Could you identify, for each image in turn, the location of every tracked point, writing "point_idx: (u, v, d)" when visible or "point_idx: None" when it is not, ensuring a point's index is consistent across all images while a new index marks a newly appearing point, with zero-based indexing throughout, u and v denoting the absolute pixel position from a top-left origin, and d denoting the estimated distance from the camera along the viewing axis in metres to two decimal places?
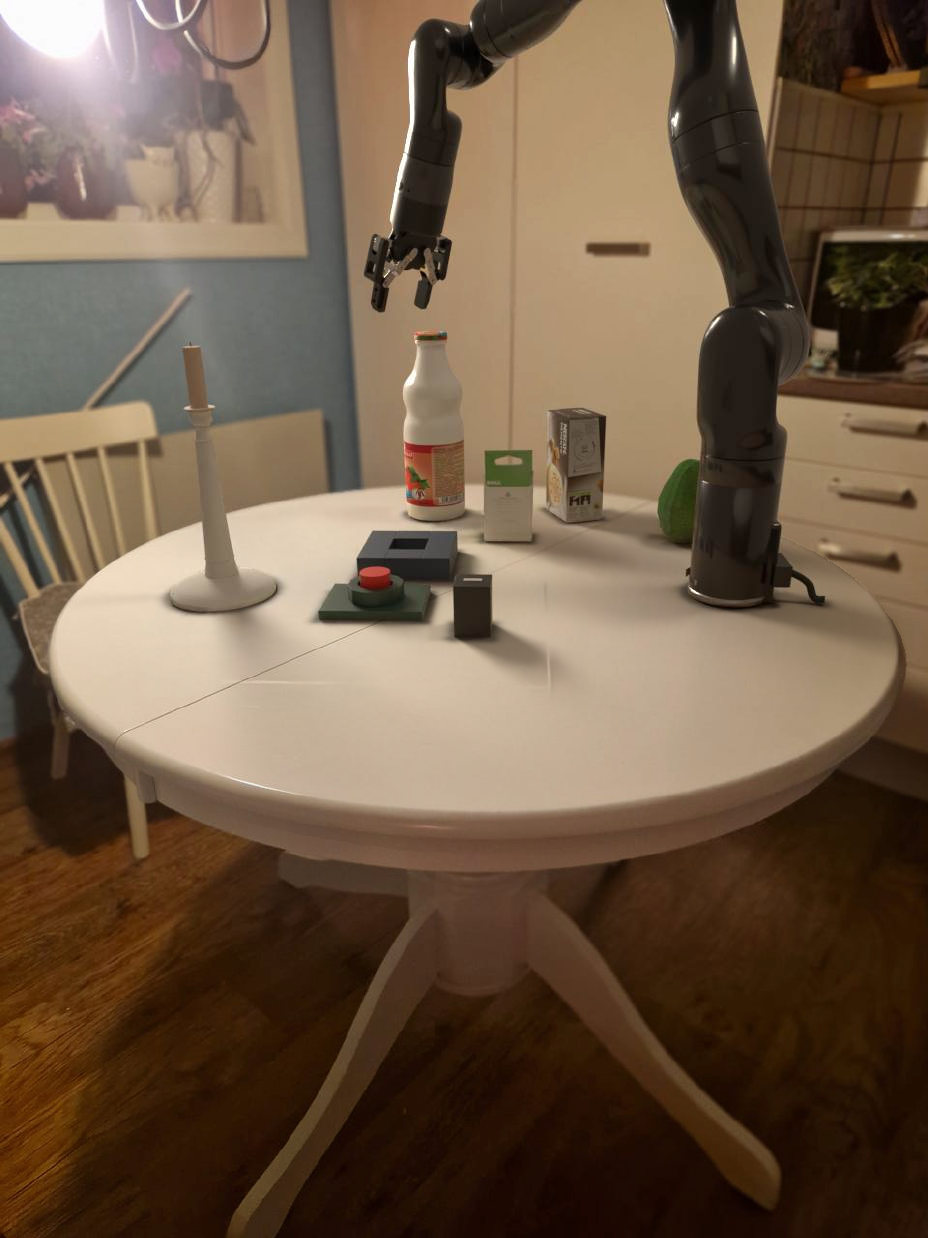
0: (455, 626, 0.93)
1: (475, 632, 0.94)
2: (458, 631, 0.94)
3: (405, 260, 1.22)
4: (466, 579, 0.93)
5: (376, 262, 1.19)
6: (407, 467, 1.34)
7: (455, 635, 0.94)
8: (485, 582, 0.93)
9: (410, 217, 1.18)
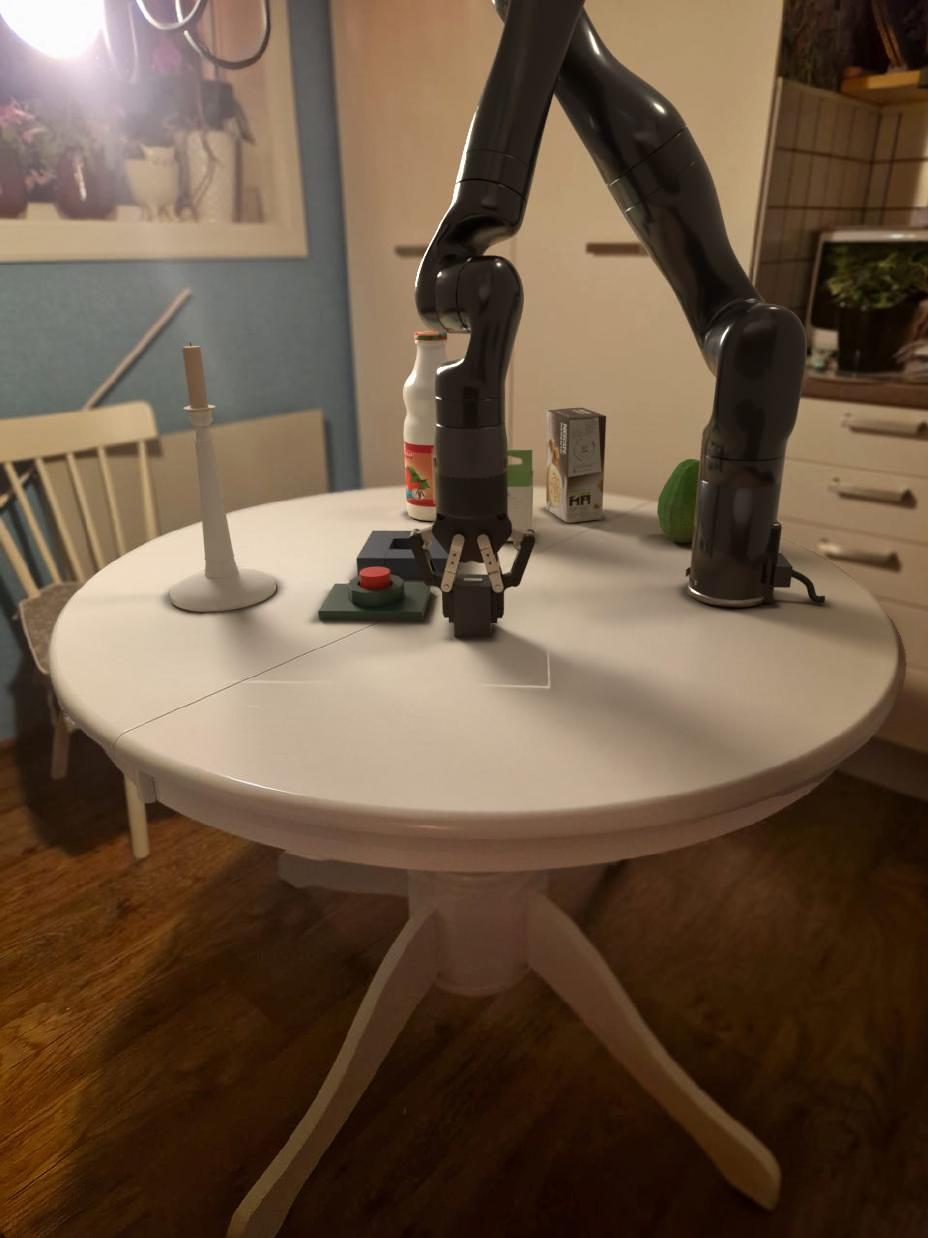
0: (455, 626, 0.93)
1: (475, 632, 0.94)
2: (458, 631, 0.94)
3: None
4: (466, 579, 0.93)
5: None
6: (407, 467, 1.34)
7: (455, 635, 0.94)
8: (486, 582, 0.93)
9: None
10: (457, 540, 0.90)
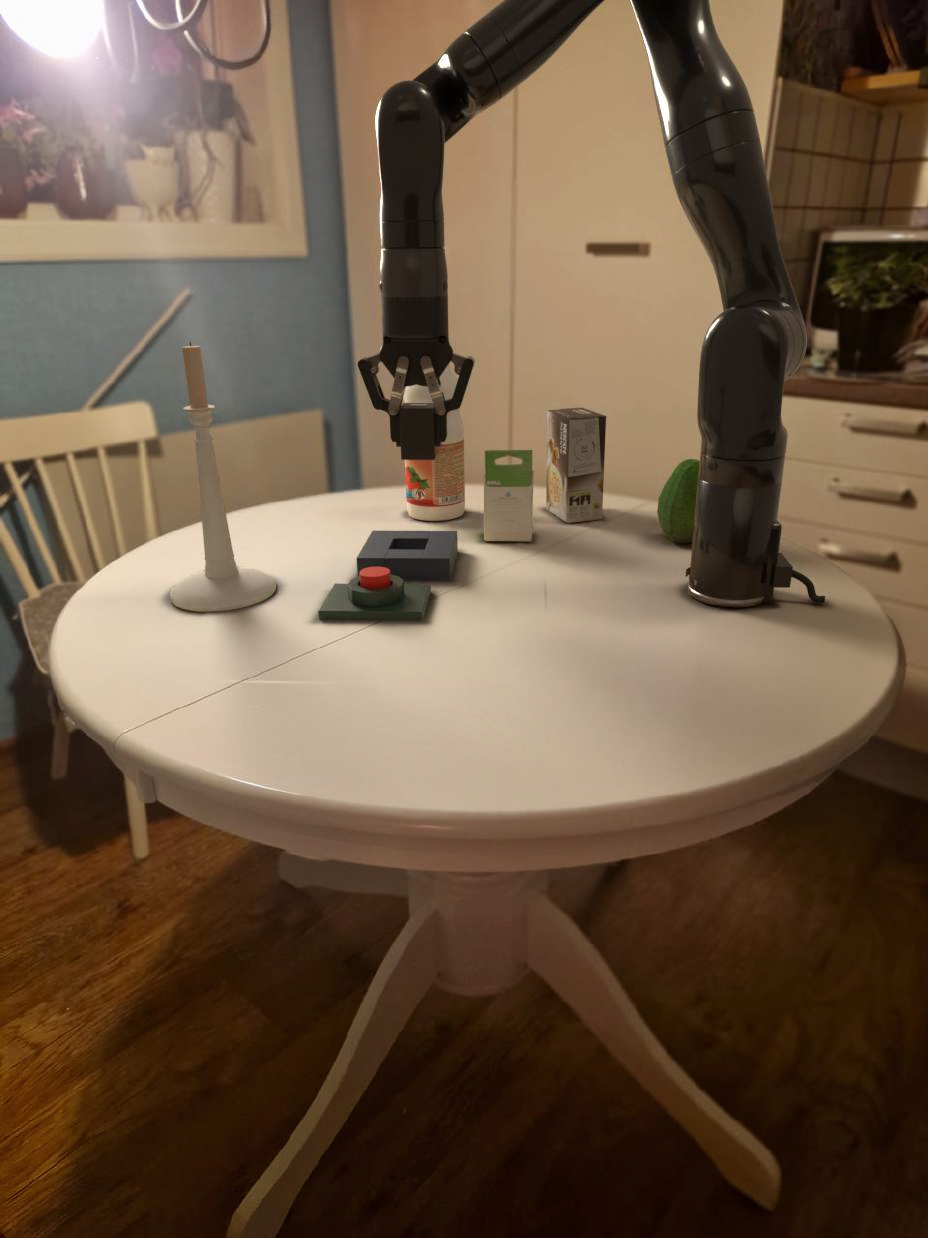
0: (402, 448, 1.02)
1: (420, 453, 1.02)
2: (404, 453, 1.02)
3: None
4: (412, 404, 1.02)
5: None
6: (407, 467, 1.34)
7: (402, 457, 1.02)
8: (429, 406, 1.01)
9: None
10: (402, 362, 0.98)
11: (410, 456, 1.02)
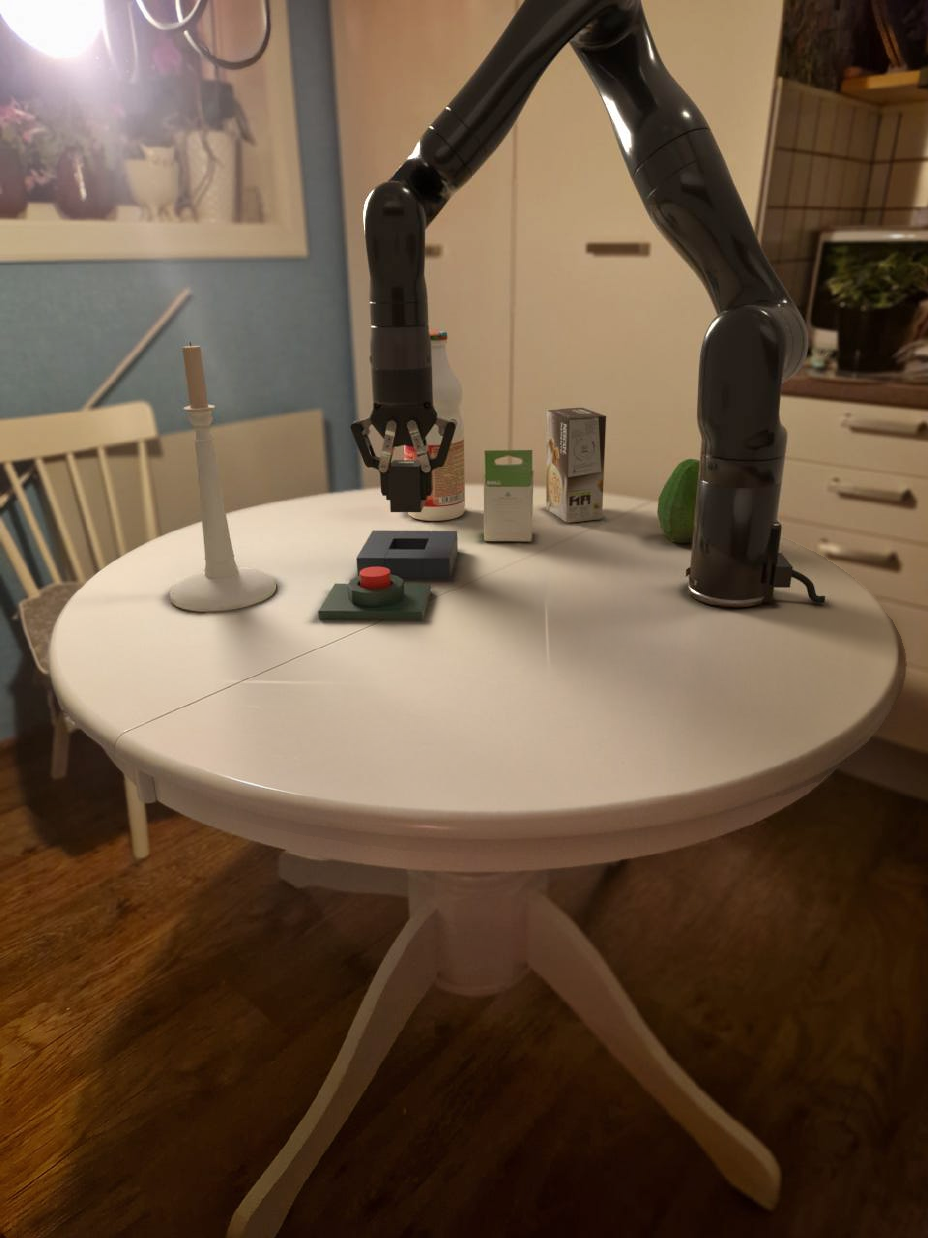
0: (391, 501, 1.11)
1: (408, 506, 1.12)
2: (393, 506, 1.12)
3: None
4: (400, 462, 1.11)
5: (450, 445, 1.11)
6: None
7: (391, 509, 1.12)
8: (416, 464, 1.11)
9: None
10: (390, 425, 1.08)
11: (398, 509, 1.12)
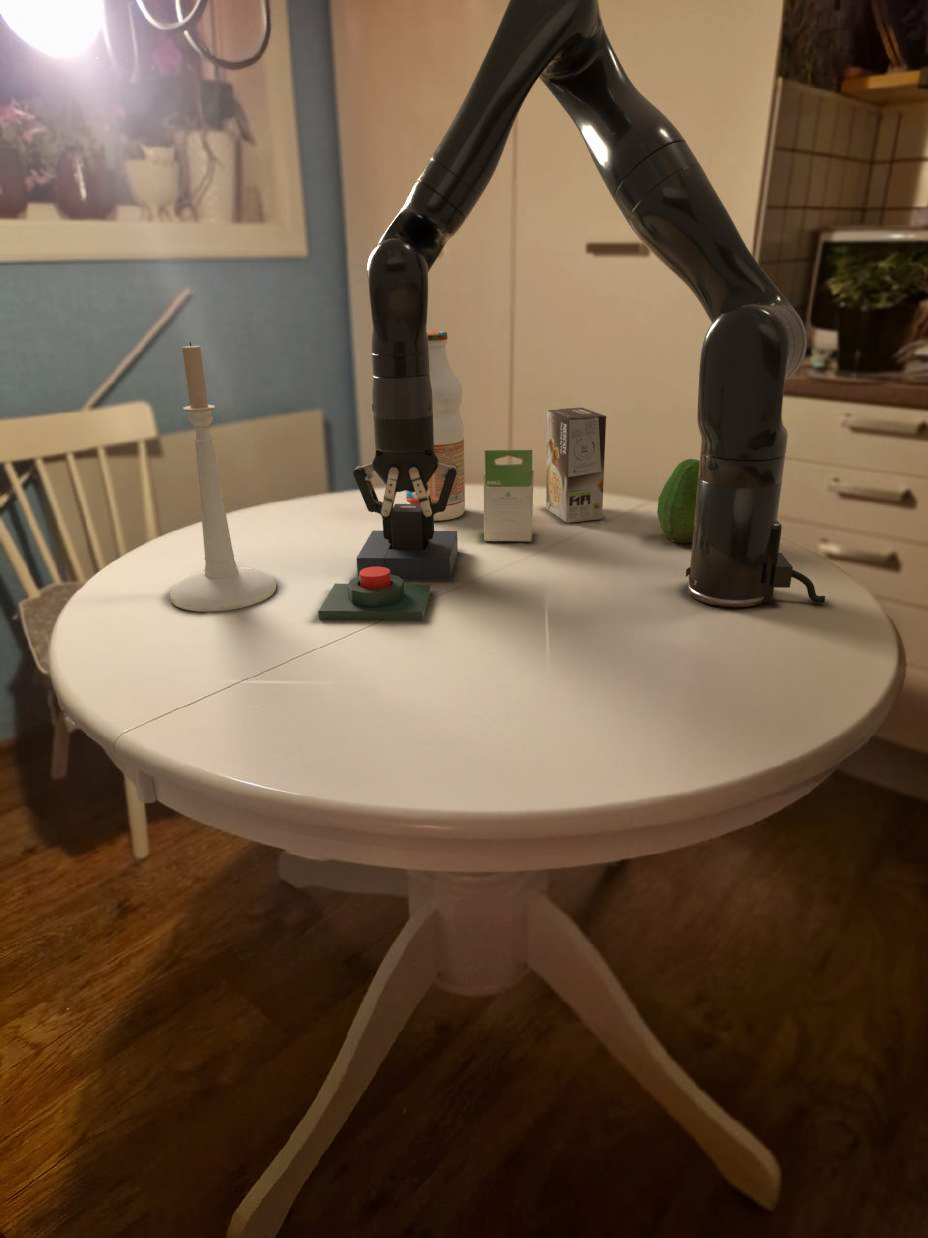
0: (393, 545, 1.14)
1: None
2: None
3: None
4: (402, 506, 1.13)
5: None
6: None
7: None
8: (418, 508, 1.13)
9: None
10: (392, 472, 1.10)
11: None
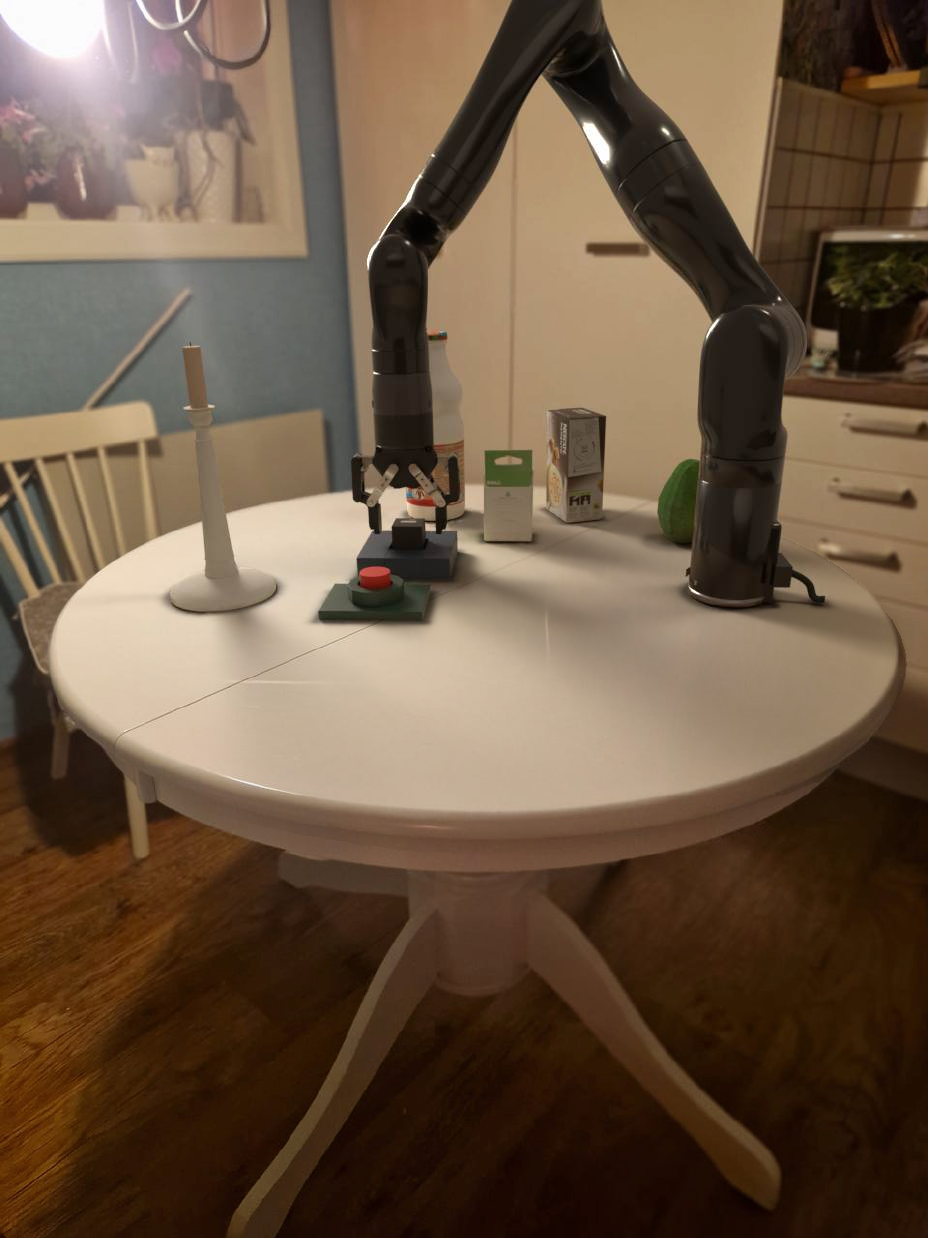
0: None
1: None
2: None
3: None
4: (403, 521, 1.14)
5: (459, 477, 1.12)
6: None
7: None
8: (418, 523, 1.14)
9: None
10: (392, 468, 1.10)
11: None
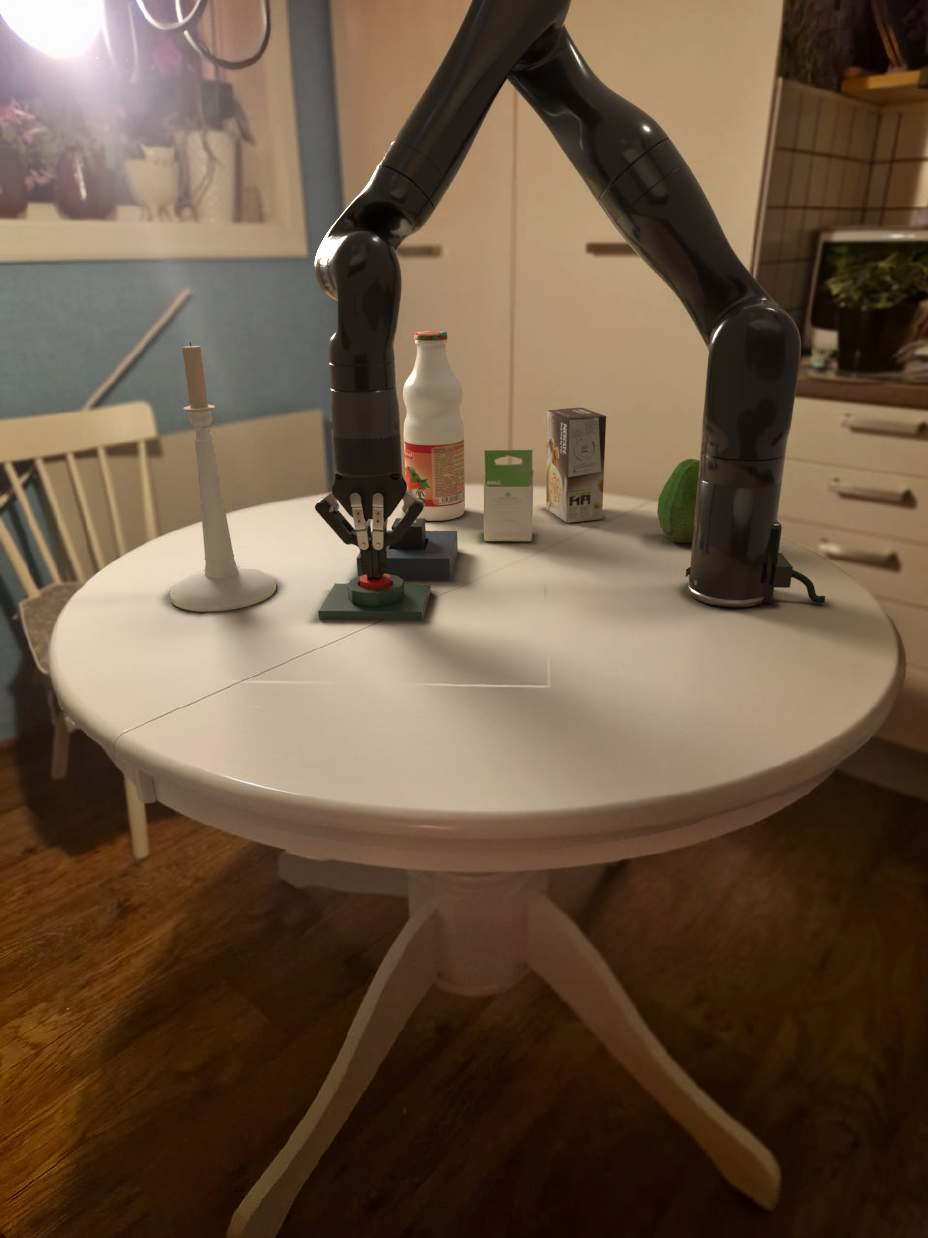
0: None
1: None
2: None
3: None
4: None
5: None
6: (407, 467, 1.34)
7: None
8: (418, 523, 1.14)
9: None
10: (354, 499, 0.96)
11: None
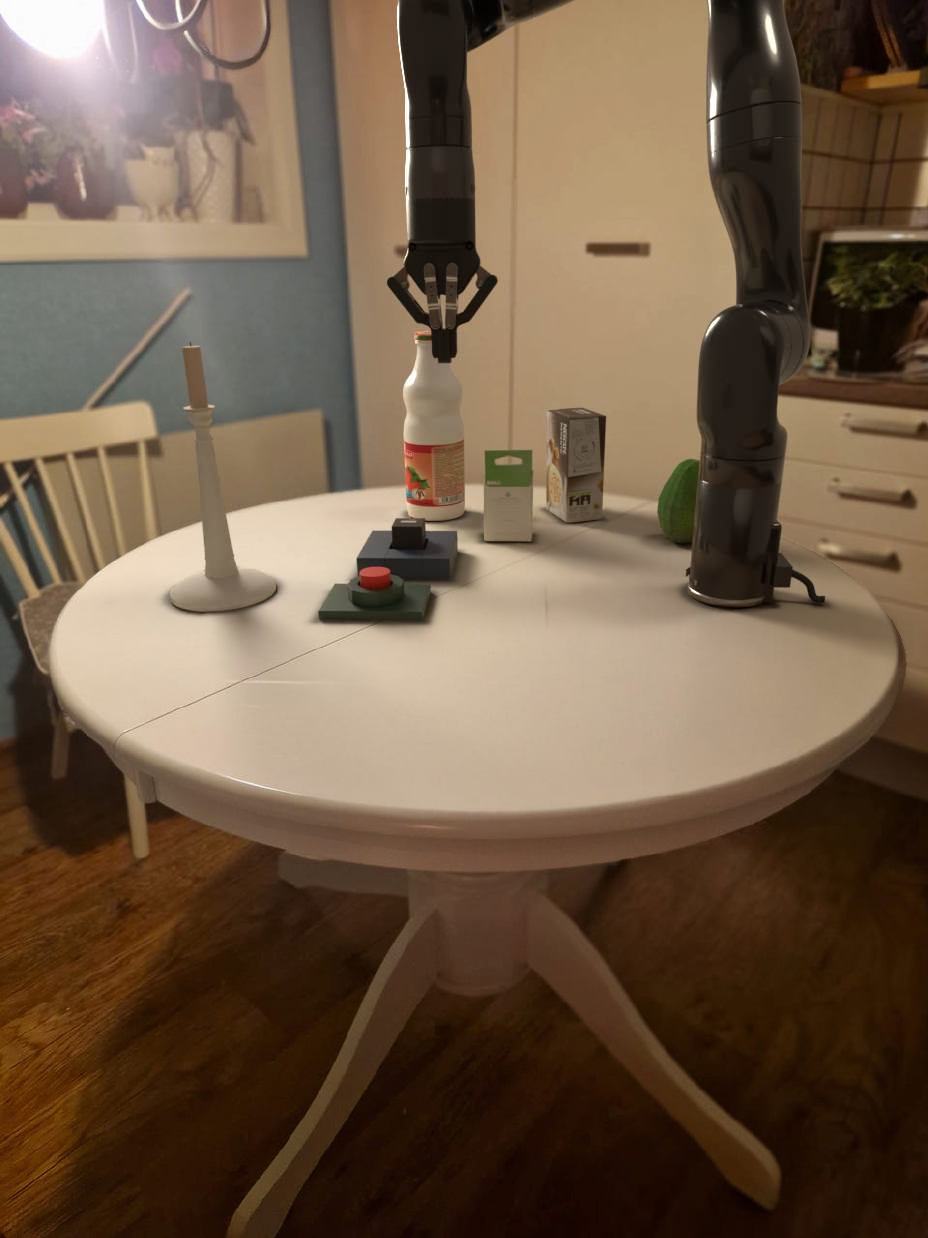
0: None
1: None
2: None
3: None
4: (403, 521, 1.14)
5: None
6: (407, 467, 1.34)
7: None
8: (418, 523, 1.14)
9: None
10: (428, 270, 0.95)
11: None
